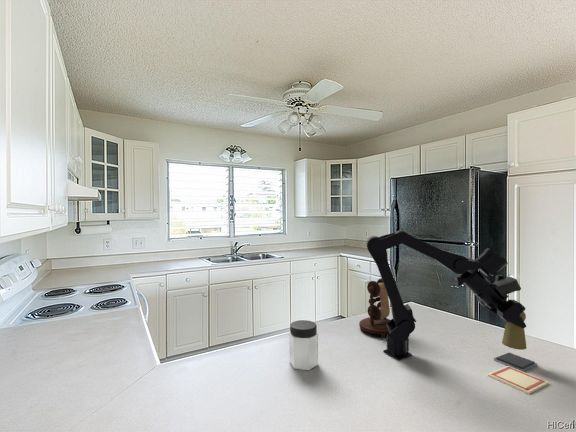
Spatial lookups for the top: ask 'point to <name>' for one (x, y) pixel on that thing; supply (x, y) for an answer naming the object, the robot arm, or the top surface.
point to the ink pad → (515, 361)
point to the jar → (303, 345)
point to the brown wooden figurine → (377, 310)
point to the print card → (518, 379)
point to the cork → (514, 335)
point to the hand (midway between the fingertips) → (520, 324)
